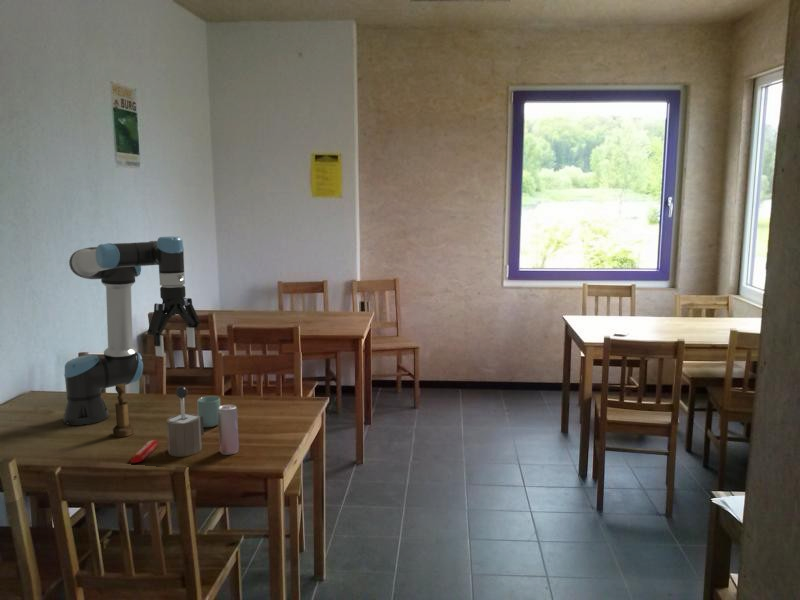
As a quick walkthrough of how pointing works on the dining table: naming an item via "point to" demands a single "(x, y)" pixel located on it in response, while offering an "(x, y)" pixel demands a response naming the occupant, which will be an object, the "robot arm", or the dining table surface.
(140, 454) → the candy bar
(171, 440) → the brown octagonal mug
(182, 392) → the joystick
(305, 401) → the dining table surface
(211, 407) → the cup
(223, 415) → the beverage can
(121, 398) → the mortar and pestle
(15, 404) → the dining table surface
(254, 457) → the dining table surface
